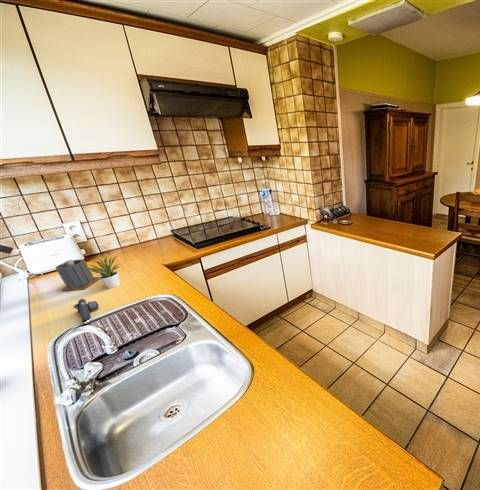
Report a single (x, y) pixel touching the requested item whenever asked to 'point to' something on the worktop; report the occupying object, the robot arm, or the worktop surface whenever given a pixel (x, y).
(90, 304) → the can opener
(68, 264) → the tape stand
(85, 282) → the grey ribbed cylinder
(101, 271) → the house plant
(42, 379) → the worktop surface
